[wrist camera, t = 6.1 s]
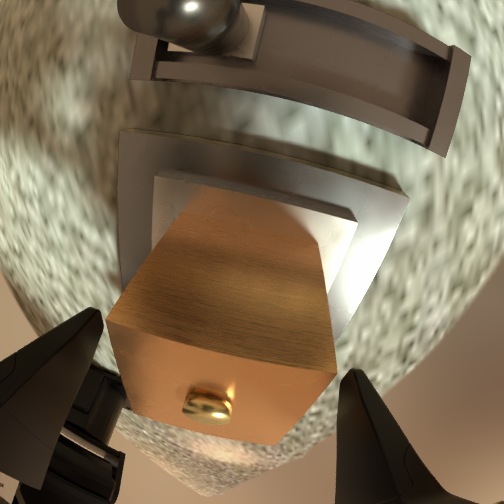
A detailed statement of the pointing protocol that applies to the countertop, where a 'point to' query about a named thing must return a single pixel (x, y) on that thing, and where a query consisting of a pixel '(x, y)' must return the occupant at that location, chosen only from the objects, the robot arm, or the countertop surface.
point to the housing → (225, 331)
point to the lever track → (335, 67)
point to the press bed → (256, 205)
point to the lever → (199, 25)
